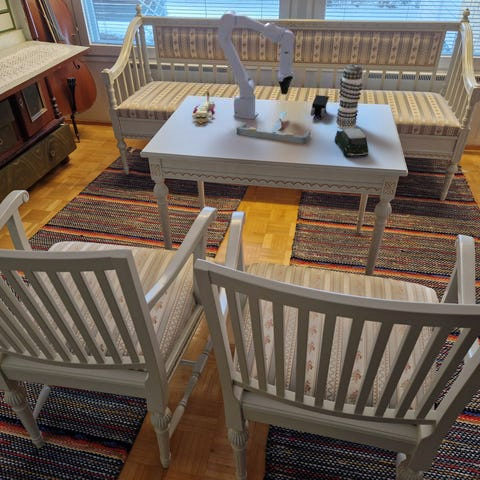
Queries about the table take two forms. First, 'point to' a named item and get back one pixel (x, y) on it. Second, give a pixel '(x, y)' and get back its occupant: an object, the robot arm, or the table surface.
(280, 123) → the propeller
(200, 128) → the table surface
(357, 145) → the miniature car
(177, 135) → the table surface
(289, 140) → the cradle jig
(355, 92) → the model tower building
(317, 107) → the figurine character
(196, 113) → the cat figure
